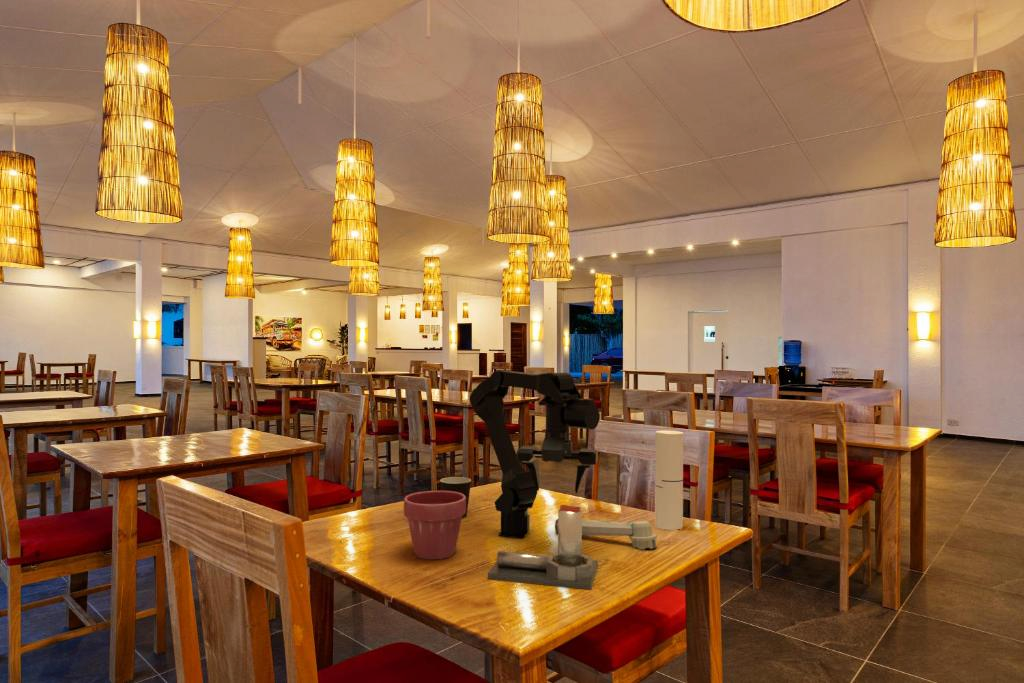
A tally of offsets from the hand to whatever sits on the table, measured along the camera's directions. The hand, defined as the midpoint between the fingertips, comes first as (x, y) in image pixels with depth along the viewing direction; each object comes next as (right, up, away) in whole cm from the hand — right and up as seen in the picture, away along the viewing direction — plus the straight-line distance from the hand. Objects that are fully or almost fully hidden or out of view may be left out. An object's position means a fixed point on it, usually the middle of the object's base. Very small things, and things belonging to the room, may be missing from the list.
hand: (557, 491), depth 143 cm
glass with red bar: (+1, -12, -20) cm, 23 cm away
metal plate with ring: (-4, -13, -17) cm, 22 cm away
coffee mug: (-26, -13, +27) cm, 40 cm away
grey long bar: (+12, -14, +5) cm, 19 cm away
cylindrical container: (+31, -14, +18) cm, 38 cm away
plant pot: (-28, -13, -6) cm, 32 cm away
